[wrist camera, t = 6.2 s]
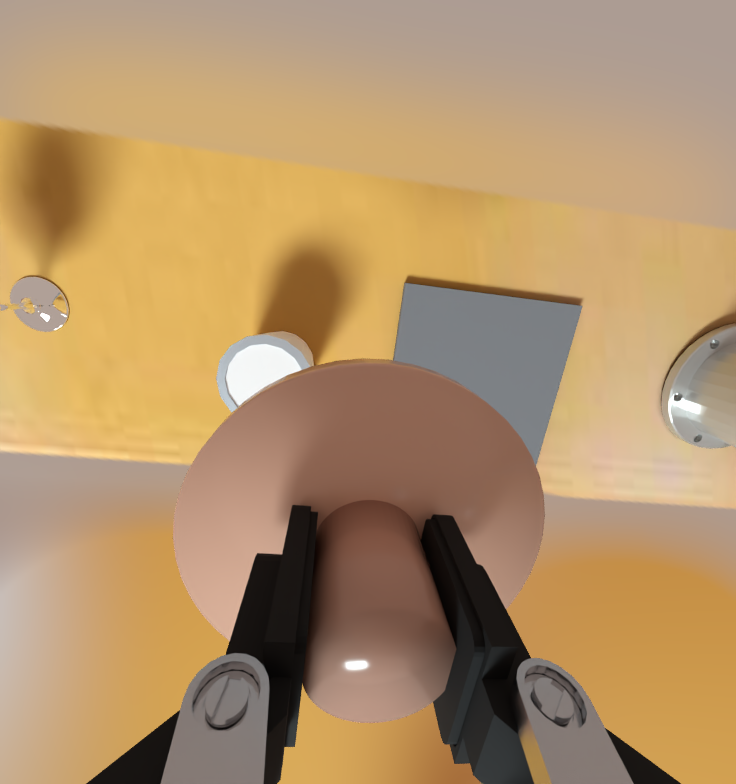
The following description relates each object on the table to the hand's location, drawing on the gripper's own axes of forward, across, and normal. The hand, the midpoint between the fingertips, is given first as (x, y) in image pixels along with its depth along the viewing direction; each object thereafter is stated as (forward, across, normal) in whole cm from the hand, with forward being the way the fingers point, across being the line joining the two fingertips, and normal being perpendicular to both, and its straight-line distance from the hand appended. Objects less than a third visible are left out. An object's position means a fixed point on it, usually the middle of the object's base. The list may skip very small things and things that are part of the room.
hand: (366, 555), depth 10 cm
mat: (+23, -12, 0) cm, 26 cm away
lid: (+1, 0, 0) cm, 1 cm away
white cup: (+23, +6, 0) cm, 24 cm away
